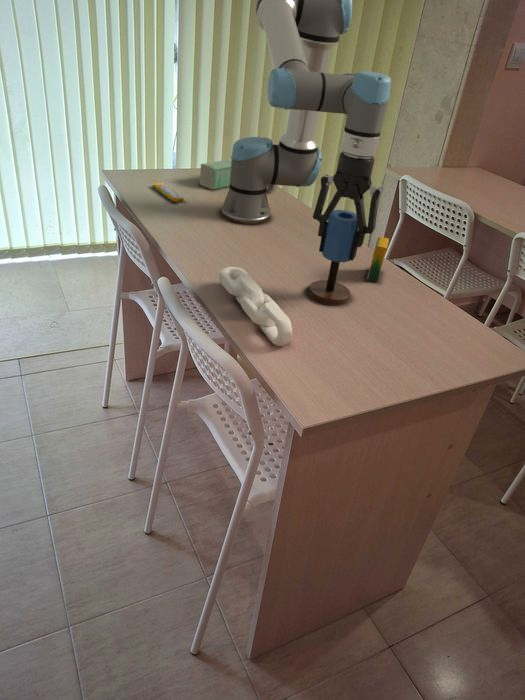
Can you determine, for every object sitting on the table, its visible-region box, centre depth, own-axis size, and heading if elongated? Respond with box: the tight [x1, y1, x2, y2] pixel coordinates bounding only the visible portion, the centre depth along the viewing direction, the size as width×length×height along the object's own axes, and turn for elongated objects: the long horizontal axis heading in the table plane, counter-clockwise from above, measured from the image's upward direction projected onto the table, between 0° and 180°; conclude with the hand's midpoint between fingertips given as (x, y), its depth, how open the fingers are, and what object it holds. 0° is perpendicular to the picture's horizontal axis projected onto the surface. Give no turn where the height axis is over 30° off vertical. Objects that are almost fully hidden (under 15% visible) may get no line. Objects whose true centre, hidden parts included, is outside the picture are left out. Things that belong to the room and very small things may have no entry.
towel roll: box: [321, 209, 358, 263], centre depth 124 cm, size 7×7×10 cm
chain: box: [218, 266, 293, 347], centre depth 120 cm, size 30×6×6 cm, turn 26°
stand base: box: [308, 279, 351, 306], centre depth 133 cm, size 10×10×2 cm
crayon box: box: [366, 229, 390, 283], centre depth 142 cm, size 7×3×12 cm, turn 164°
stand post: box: [326, 260, 341, 291], centre depth 129 cm, size 2×2×10 cm
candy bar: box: [151, 181, 184, 203], centre depth 178 cm, size 17×4×2 cm, turn 34°
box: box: [199, 159, 231, 191], centre depth 192 cm, size 7×14×8 cm, turn 137°
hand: (337, 253), depth 127 cm, fingers closed on towel roll, 7 cm apart
